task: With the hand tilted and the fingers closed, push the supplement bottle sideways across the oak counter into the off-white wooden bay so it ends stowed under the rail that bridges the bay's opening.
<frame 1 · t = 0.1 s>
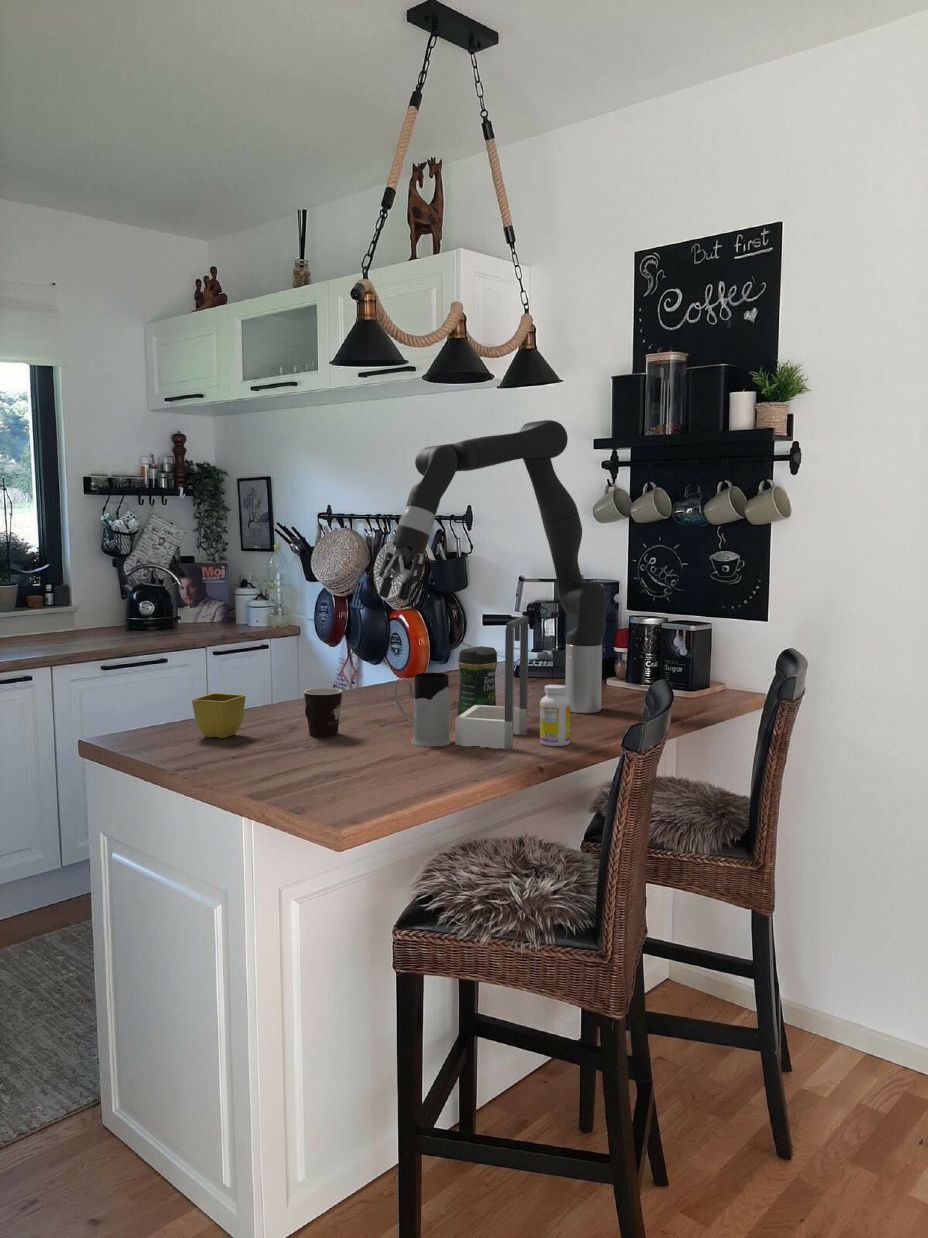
hand: (392, 598, 216), 31 cm above the countertop, tool tilted 20°, fingers open, 8 cm apart
supplement bottle: (554, 744, 213), on the countertop
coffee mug: (318, 736, 220), on the countertop
bay: (493, 739, 217), on the countertop
flower pot: (219, 737, 219), on the countertop
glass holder: (421, 741, 215), on the countertop
coffee jar: (477, 723, 235), on the countertop
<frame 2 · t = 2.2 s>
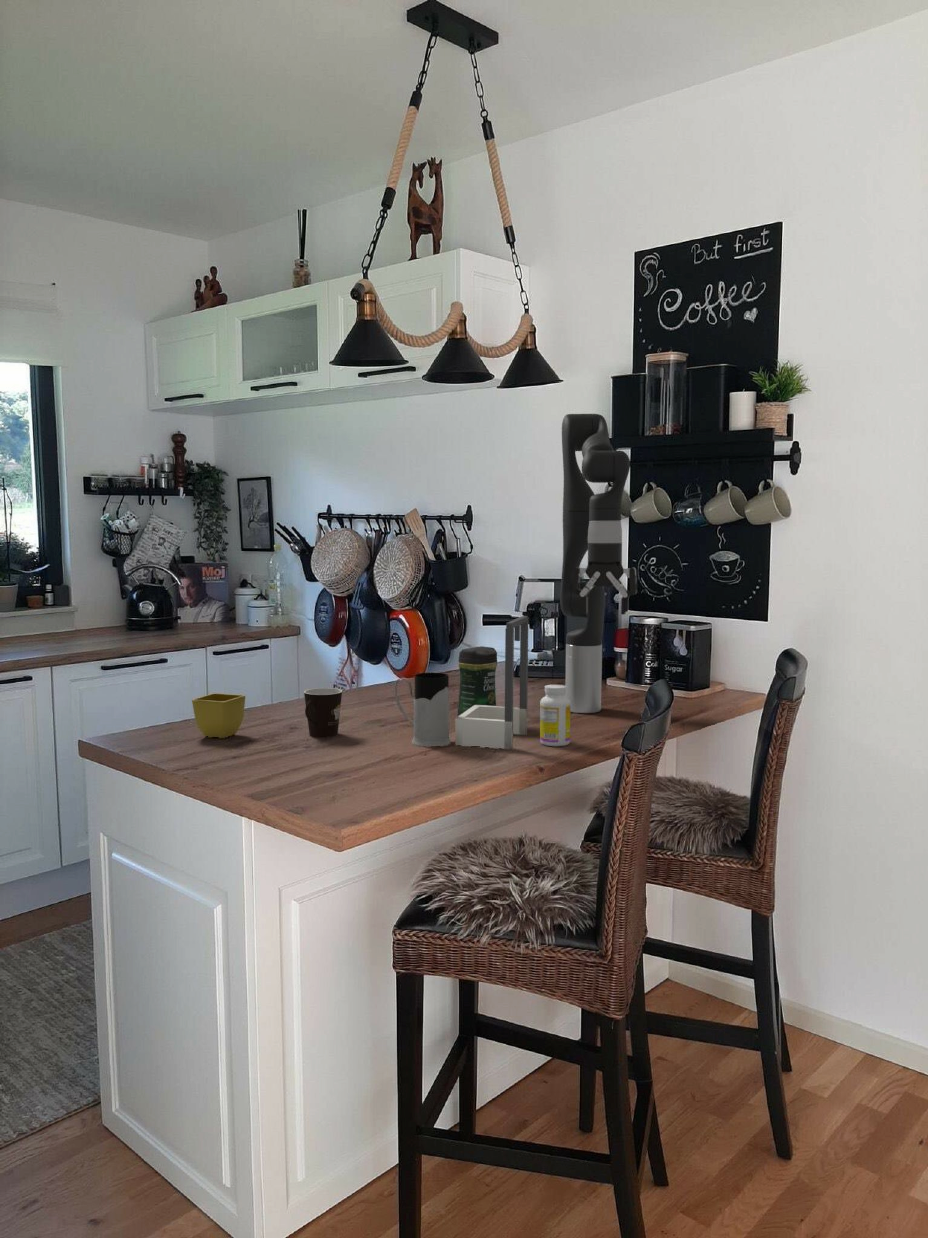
hand: (604, 613, 217), 28 cm above the countertop, tool pointing down, fingers open, 8 cm apart
nothing on the countertop moved.
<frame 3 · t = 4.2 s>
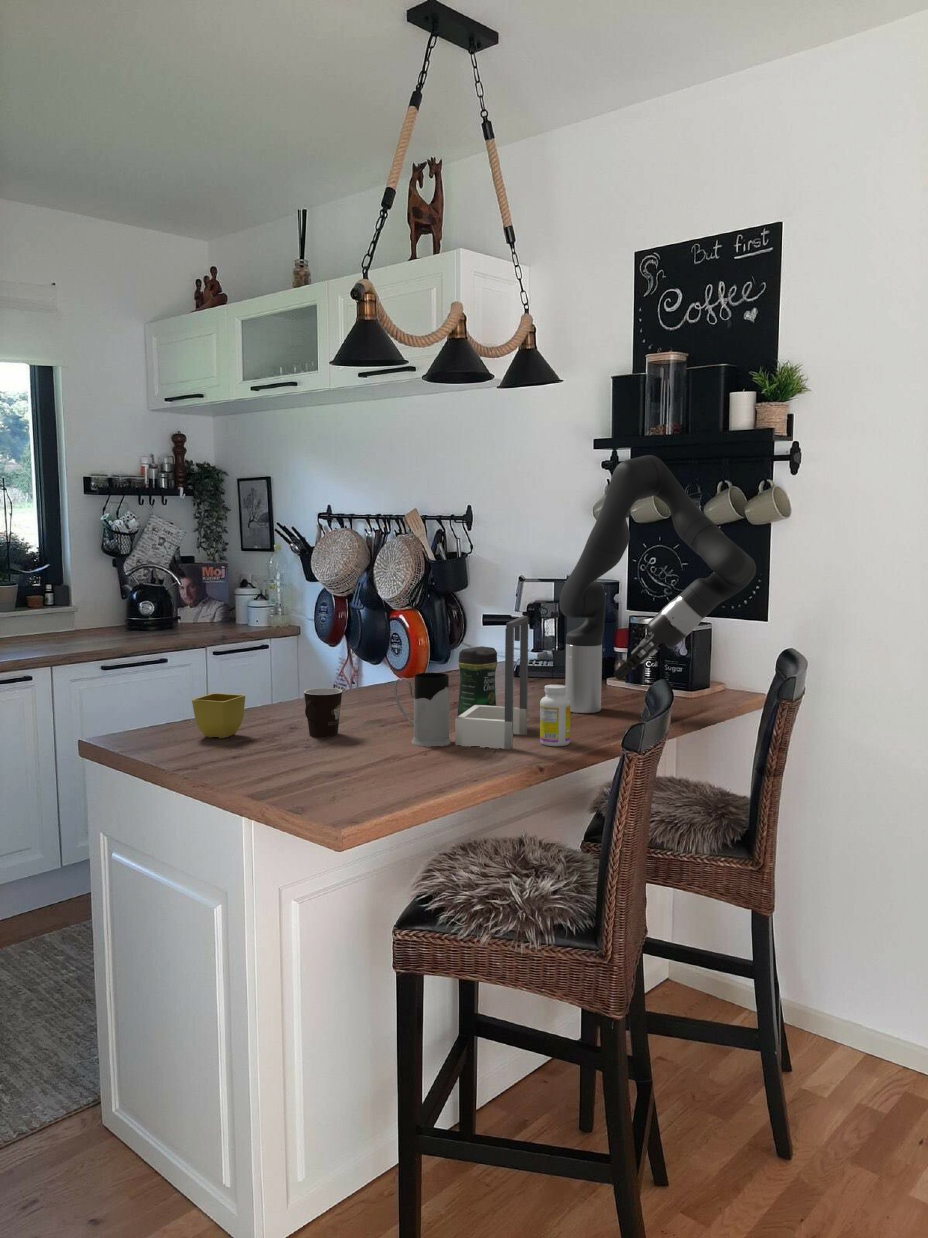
hand: (616, 677, 208), 16 cm above the countertop, tool tilted 45°, fingers closed
nothing on the countertop moved.
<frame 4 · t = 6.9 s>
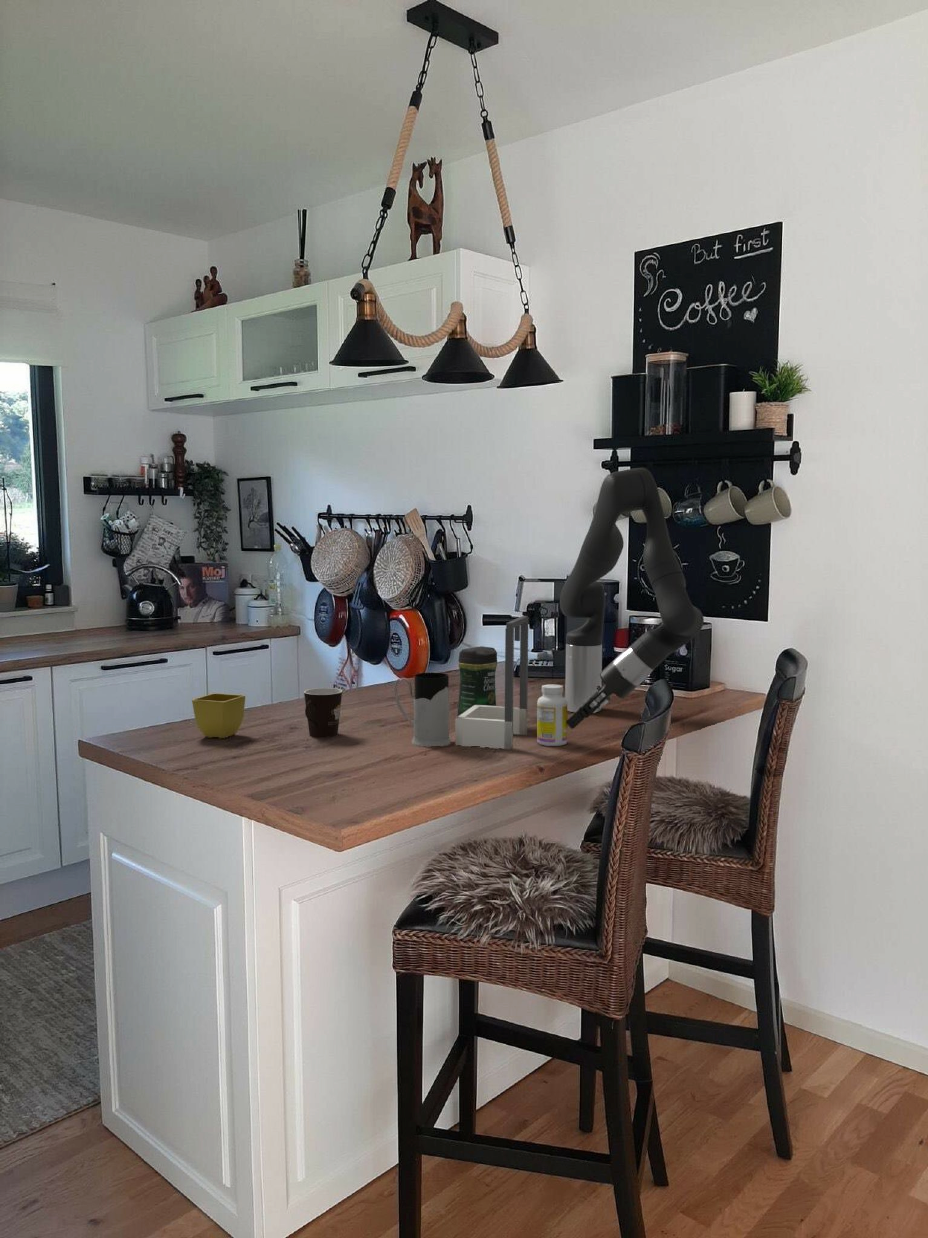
hand: (569, 725, 212), 4 cm above the countertop, tool tilted 45°, fingers closed
supplement bottle: (551, 744, 213), on the countertop, touching gripper
everything else where it was.
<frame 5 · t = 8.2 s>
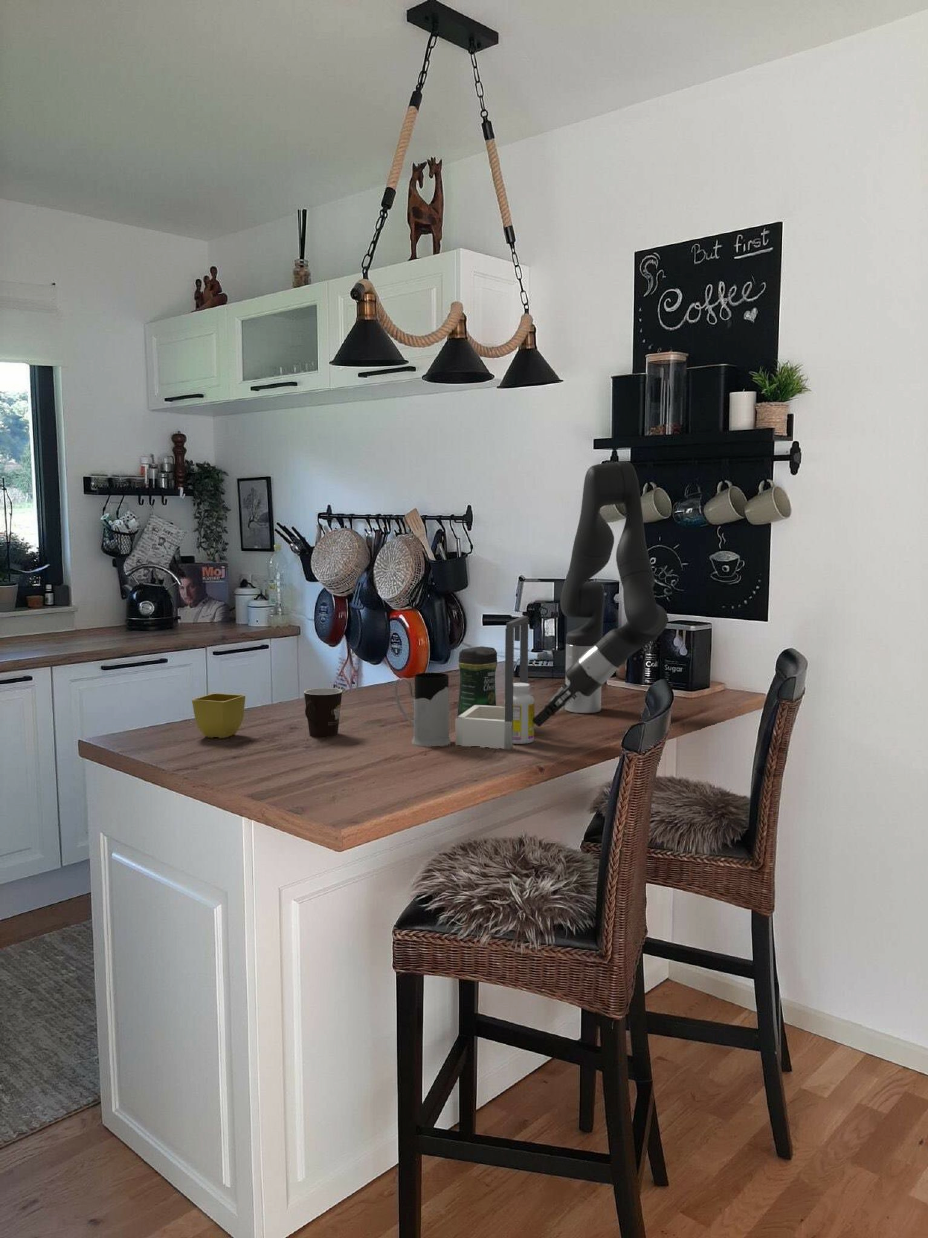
hand: (536, 723, 214), 4 cm above the countertop, tool tilted 45°, fingers closed
supplement bottle: (518, 742, 215), on the countertop, touching gripper
everything else where it was.
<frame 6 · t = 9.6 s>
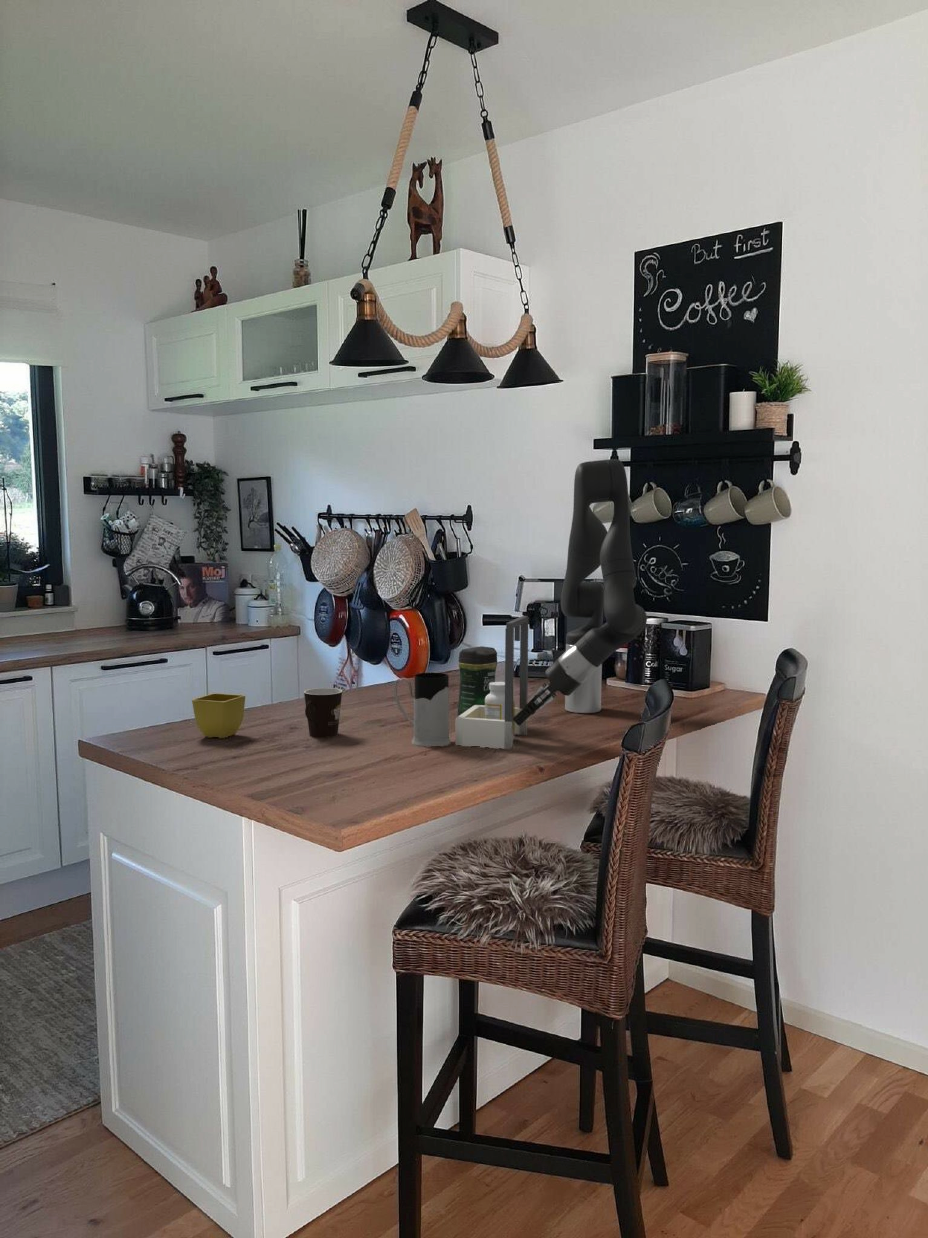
hand: (516, 722, 215), 4 cm above the countertop, tool tilted 45°, fingers closed
supplement bottle: (499, 741, 216), on the countertop, touching gripper
everything else where it was.
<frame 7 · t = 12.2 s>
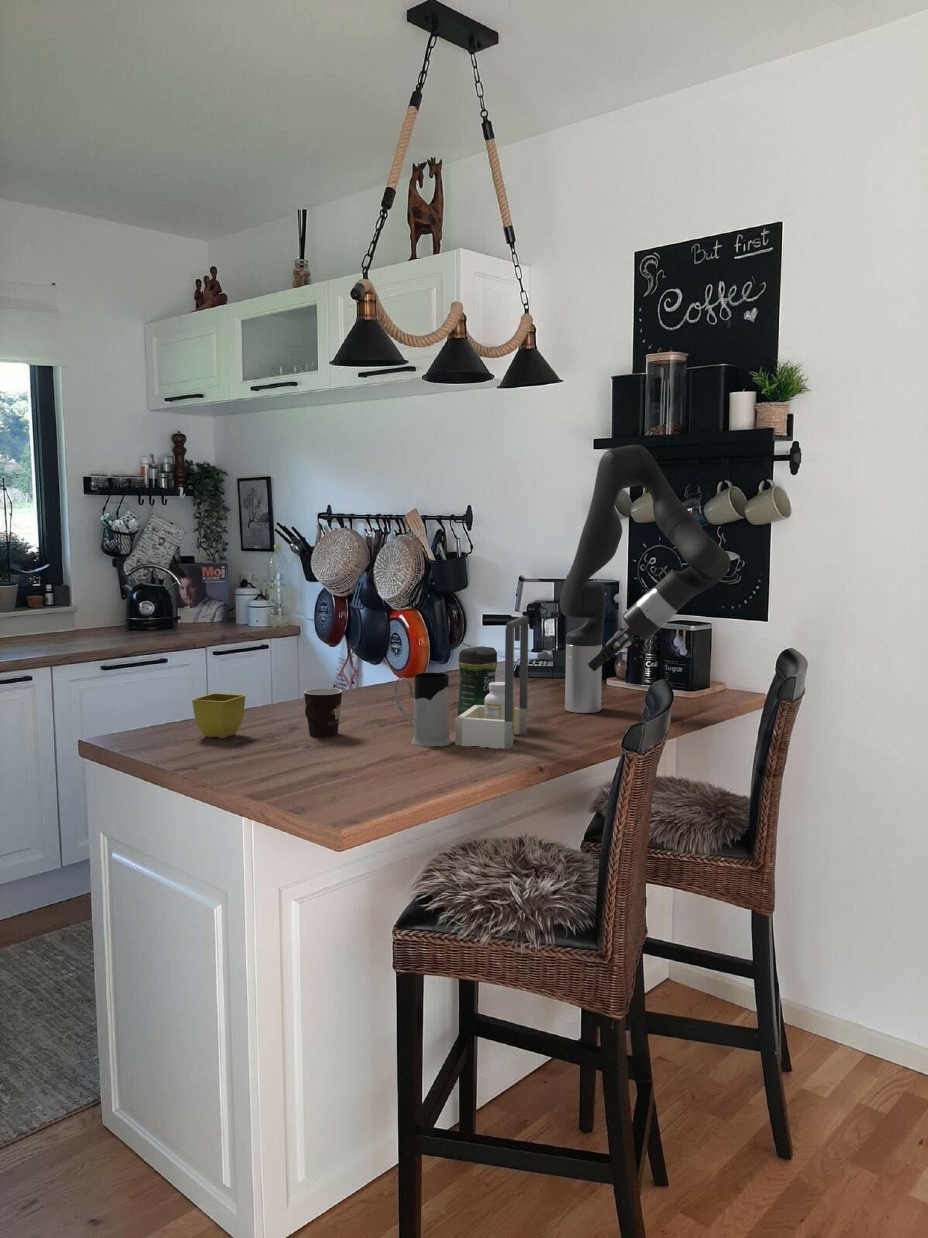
hand: (591, 667, 209), 17 cm above the countertop, tool tilted 45°, fingers closed
supplement bottle: (499, 741, 216), on the countertop
everything else where it was.
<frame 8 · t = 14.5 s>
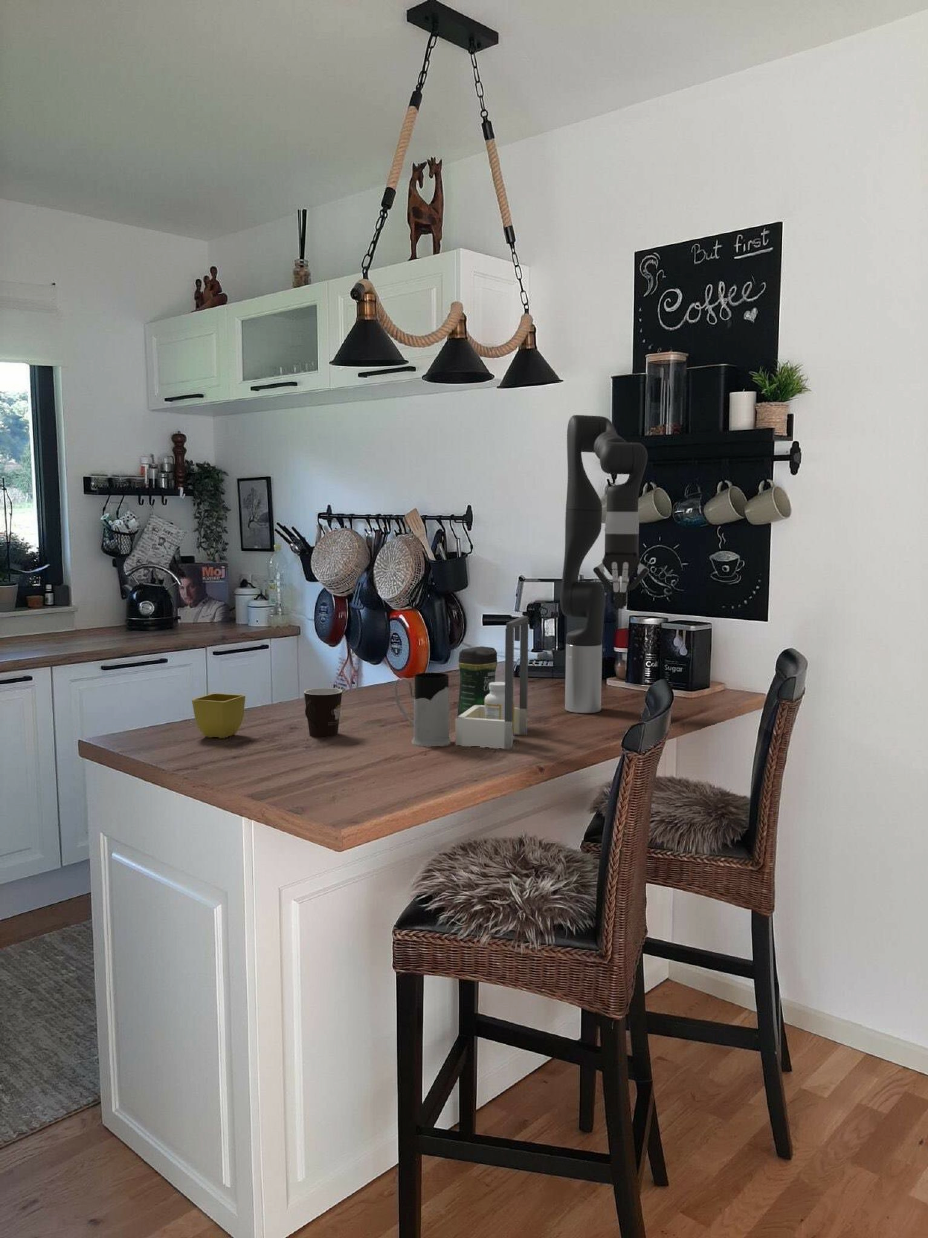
hand: (620, 608, 220), 29 cm above the countertop, tool pointing down, fingers closed
nothing on the countertop moved.
at the end: supplement bottle inside the target area (2.2 cm from its centre), on the countertop; supplement bottle tilted 0° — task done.
